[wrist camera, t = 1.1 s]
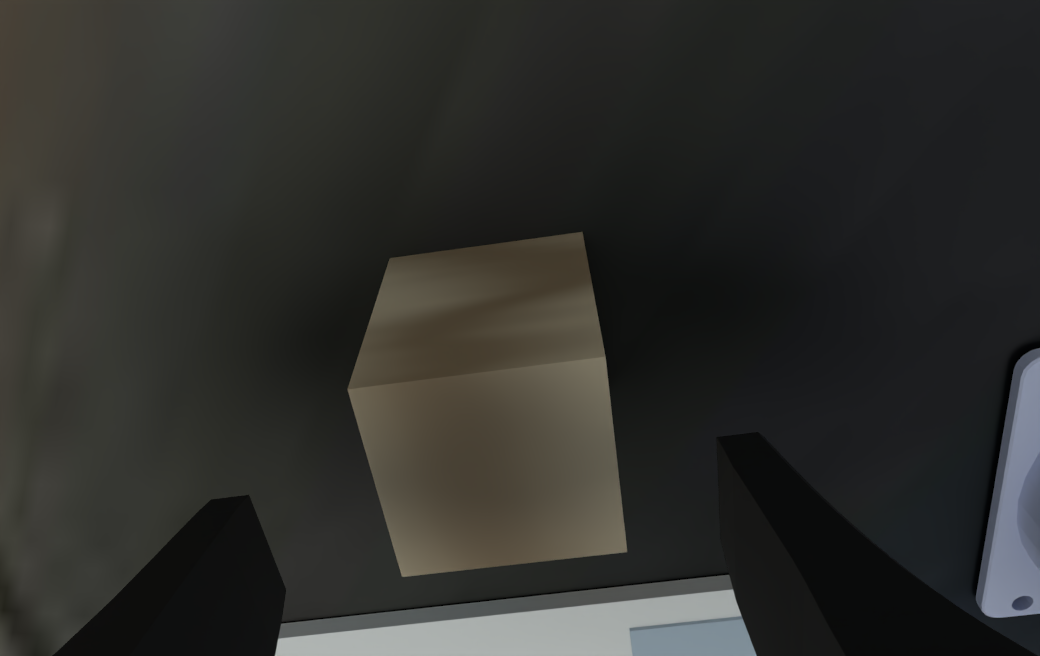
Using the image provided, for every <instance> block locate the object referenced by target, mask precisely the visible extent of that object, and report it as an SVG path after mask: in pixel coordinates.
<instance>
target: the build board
mask: <svg viewBox="0 0 1040 656" xmlns="http://www.w3.org/2000/svg"><path fill="white" fill-rule="evenodd" d="M275 656H757V655H756V653H755V650H754V647H753V645H752V642H751V640H750V637H749V634H748V632H747V629H746V626H745V624H744V621H743V618H742V616H741V613H740V610H739V608H738V605H737V602H736V599H735V595H734V591H733V587H732V583H731V580H730V576H729V575H721V576H712V577H703V578H694V579H685V580H676V581H666V582H657V583H648V584H639V585H630V586H621V587H612V588H602V589H593V590H584V591H575V592H566V593H557V594H548V595H539V596H529V597H520V598H511V599H502V600H493V601H484V602H475V603H465V604H456V605H447V606H438V607H429V608H420V609H411V610H402V611H392V612H383V613H374V614H365V615H356V616H347V617H338V618H329V619H319V620H310V621H301V622H292V623H283V624H281V627H280V632H279V637H278V643H277V648H276V653H275Z"/></svg>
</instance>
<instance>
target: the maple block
mask: <svg viewBox="0 0 1040 656" xmlns="http://www.w3.org/2000/svg"><path fill="white" fill-rule="evenodd" d="M347 390H348V393H349V396H350V400H351V403H352V407H353V410H354V414H355V417H356V420H357V424H358V427H359V431H360V434H361V438H362V441H363V444H364V448H365V451H366V455H367V458H368V462H369V465H370V468H371V472H372V475H373V479H374V482H375V486H376V489H377V493H378V496H379V499H380V503H381V506H382V510H383V513H384V517H385V520H386V523H387V527H388V530H389V534H390V537H391V541H392V544H393V547H394V551H395V554H396V558H397V561H398V565H399V568H400V571H401V575H402V577H406V576H415V575H424V574H433V573H442V572H451V571H460V570H469V569H478V568H487V567H496V566H505V565H514V564H523V563H532V562H541V561H550V560H559V559H568V558H577V557H586V556H595V555H604V554H613V553H622V552H627V546H626V537H625V528H624V519H623V510H622V500H621V491H620V482H619V473H618V464H617V455H616V446H615V437H614V428H613V419H612V410H611V401H610V392H609V383H608V374H607V365H606V356H605V351H604V346H603V340H602V335H601V330H600V324H599V319H598V313H597V308H596V303H595V297H594V292H593V286H592V281H591V276H590V270H589V265H588V259H587V254H586V249H585V243H584V238H583V232H578V233H570V234H563V235H556V236H548V237H541V238H534V239H526V240H519V241H512V242H504V243H497V244H490V245H482V246H475V247H468V248H461V249H453V250H446V251H439V252H431V253H424V254H417V255H409V256H402V257H395V258H390V259H389V262H388V265H387V268H386V271H385V274H384V278H383V281H382V284H381V287H380V290H379V293H378V296H377V299H376V302H375V305H374V309H373V312H372V315H371V318H370V321H369V324H368V327H367V330H366V333H365V336H364V340H363V343H362V346H361V349H360V352H359V355H358V358H357V361H356V364H355V367H354V371H353V374H352V377H351V380H350V383H349V386H348V389H347Z"/></svg>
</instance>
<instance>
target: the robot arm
mask: <svg viewBox="0 0 1040 656" xmlns="http://www.w3.org/2000/svg"><path fill="white" fill-rule="evenodd" d="M717 460H718V486H719V513H720V539H721V544H722V548H723V552H724V556H725V560H726V564H727V568H728V572H729V576H730V580H731V583H732V587H733V591H734V595H735V599H736V602H737V605H738V608H739V610H740V613H741V616H742V618H743V621H744V624H745V626H746V629H747V632H748V634H749V637H750V640H751V642H752V645H753V647H754V650H755V653H756V655H757V656H1037V655H1035V654H1034V653H1032V652H1030V651H1029V650H1027V649H1025V648H1024V647H1022V646H1020V645H1019V644H1017V643H1015V642H1014V641H1012V640H1010V639H1008V638H1007V637H1005V636H1003V635H1002V634H1000V633H998V632H997V631H995V630H993V629H992V628H990V627H988V626H987V625H985V624H984V623H982V622H980V621H979V620H977V619H976V618H974V617H973V616H971V615H969V614H968V613H966V612H965V611H963V610H962V609H960V608H959V607H957V606H956V605H955V604H953V603H952V602H950V601H949V600H947V599H946V598H945V597H943V596H942V595H940V594H939V593H938V592H936V591H935V590H933V589H932V588H930V587H929V586H928V585H926V584H925V583H924V582H922V581H921V580H920V579H918V578H917V577H916V576H914V575H913V574H912V573H910V572H909V571H908V570H907V569H905V568H904V567H903V566H901V565H900V564H899V563H898V562H896V561H895V560H894V559H893V558H892V557H890V556H889V555H888V554H887V553H885V552H884V551H883V550H882V549H881V548H879V547H878V546H877V545H876V544H874V543H873V542H872V541H871V540H870V539H869V538H867V537H866V536H865V535H864V534H863V533H862V532H860V531H859V530H858V529H857V528H856V527H855V526H854V525H852V524H851V523H850V522H849V521H848V520H847V519H846V518H845V517H844V516H843V515H842V514H840V513H839V512H838V511H837V510H836V509H835V508H834V507H833V506H832V505H831V504H830V503H828V502H827V501H826V500H825V499H824V498H823V497H822V496H821V495H820V494H819V493H818V492H817V491H816V490H815V489H814V488H813V487H812V486H811V485H810V484H809V483H808V482H807V481H806V480H805V479H804V478H803V477H802V476H801V475H800V474H799V473H798V472H797V471H796V470H795V469H794V468H793V467H792V466H791V465H790V464H789V463H788V462H787V461H786V460H785V459H784V458H783V457H782V456H781V455H780V453H779V452H778V451H777V450H776V449H775V448H774V447H773V446H772V445H771V444H770V443H769V442H768V440H767V439H766V438H765V437H763V436H762V435H761V434H759V433H758V432H756V433H748V434H740V435H731V436H723V437H717ZM285 594H286V588H285V586H284V583H283V581H282V578H281V576H280V573H279V571H278V568H277V565H276V563H275V560H274V558H273V555H272V553H271V550H270V548H269V545H268V542H267V540H266V537H265V535H264V532H263V530H262V527H261V525H260V522H259V519H258V517H257V514H256V512H255V509H254V507H253V504H252V502H251V499H250V496H249V495H245V496H237V497H229V498H221V499H213V500H210V501H209V502H208V503H207V504H206V505H205V506H204V507H203V508H202V509H201V510H200V511H199V512H197V513H196V514H195V515H194V516H193V517H192V518H191V519H190V521H189V522H188V523H187V524H186V525H185V526H184V527H183V528H182V529H181V530H180V531H179V532H178V533H177V534H176V535H175V536H174V537H173V538H172V539H171V540H170V541H169V542H168V543H167V544H166V545H165V546H164V547H163V548H162V549H161V550H160V551H159V553H158V554H157V555H156V556H155V557H154V558H153V559H152V560H151V561H150V562H149V563H148V564H147V565H146V566H145V567H144V568H143V569H142V570H141V571H140V572H139V573H138V574H137V575H136V576H135V577H134V578H133V579H132V580H131V581H130V582H129V583H128V584H127V585H126V586H125V587H124V588H123V589H122V590H121V591H120V592H119V593H118V594H117V595H116V596H115V597H114V598H113V599H112V600H111V601H110V602H109V603H108V604H107V605H106V606H105V607H104V608H103V609H102V610H101V611H100V612H99V613H98V614H97V615H96V616H94V617H93V618H92V619H91V620H90V621H89V622H88V623H87V624H86V625H85V626H84V627H83V628H82V629H81V630H80V631H79V632H78V633H76V634H75V635H74V636H73V637H72V638H71V639H70V640H69V641H68V642H67V643H66V644H65V645H64V646H63V647H62V648H61V649H60V650H58V651H57V652H56V653H55V654H54V655H53V656H275V653H276V648H277V643H278V637H279V632H280V627H281V620H282V614H283V607H284V601H285ZM976 602H977V604H978V605H979V607H980V609H981V610H982V612H983V613H984V614H985V615H987V616H990V617H995V618H1002V617H1011V616H1021V615H1031V614H1040V348H1038V349H1034V350H1031V351H1029V352H1028V353H1026V354H1024V355H1023V356H1022V357H1021V358H1020V359H1019V360H1018V361H1017V363H1016V365H1015V368H1014V371H1013V377H1012V383H1011V389H1010V395H1009V401H1008V407H1007V413H1006V419H1005V425H1004V431H1003V437H1002V443H1001V449H1000V455H999V461H998V467H997V473H996V479H995V485H994V491H993V497H992V503H991V509H990V515H989V521H988V527H987V533H986V539H985V545H984V551H983V557H982V563H981V569H980V575H979V581H978V587H977V593H976Z"/></svg>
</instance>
